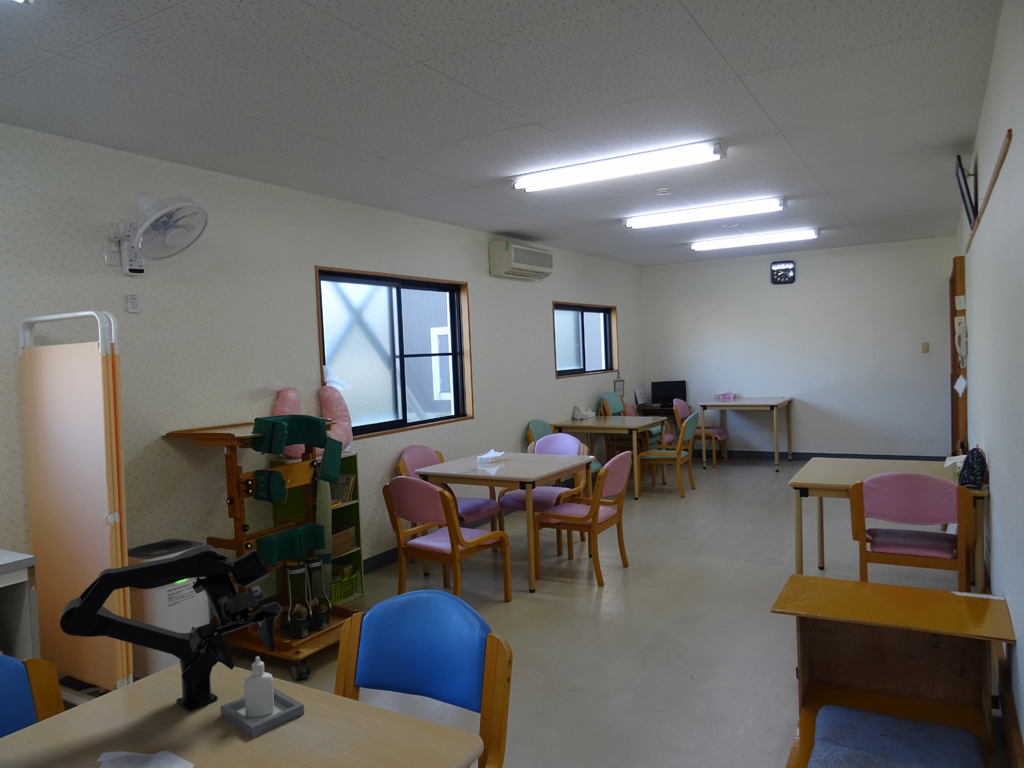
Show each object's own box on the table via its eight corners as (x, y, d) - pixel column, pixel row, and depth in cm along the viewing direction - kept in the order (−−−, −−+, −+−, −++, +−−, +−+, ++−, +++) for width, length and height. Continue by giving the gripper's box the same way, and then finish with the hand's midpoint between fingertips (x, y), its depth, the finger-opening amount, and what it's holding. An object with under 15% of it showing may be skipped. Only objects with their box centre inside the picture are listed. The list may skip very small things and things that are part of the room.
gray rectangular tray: (220, 715, 144) (220, 706, 144) (270, 694, 153) (270, 685, 153) (252, 737, 135) (252, 727, 135) (304, 714, 144) (303, 704, 144)
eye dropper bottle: (253, 707, 146) (250, 652, 146) (277, 709, 145) (275, 653, 145) (241, 718, 142) (239, 661, 142) (266, 720, 141) (264, 662, 141)
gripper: (192, 589, 140) (223, 656, 134) (275, 565, 155) (306, 624, 148) (177, 619, 146) (205, 684, 139) (258, 593, 160) (287, 651, 153)
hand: (253, 660), depth 145 cm, fingers open, 9 cm apart
